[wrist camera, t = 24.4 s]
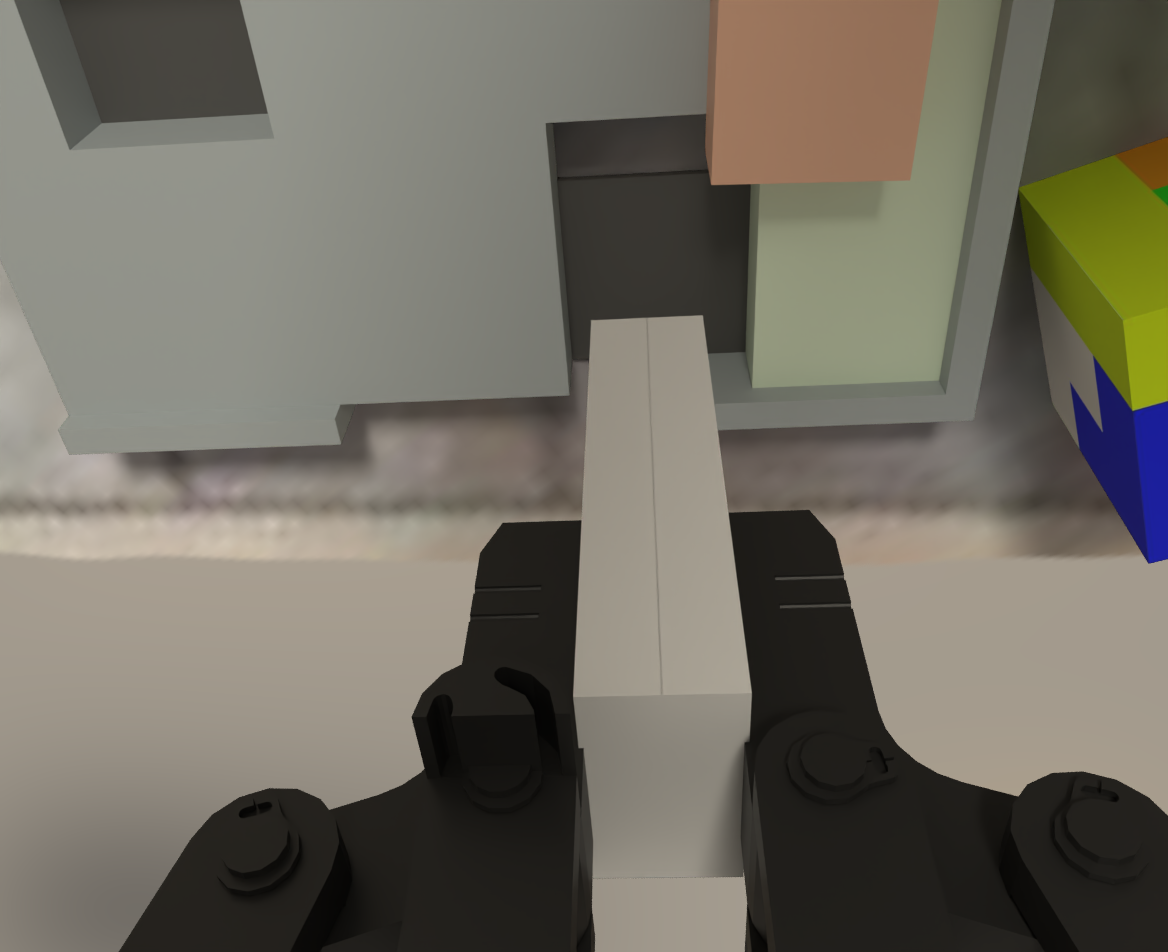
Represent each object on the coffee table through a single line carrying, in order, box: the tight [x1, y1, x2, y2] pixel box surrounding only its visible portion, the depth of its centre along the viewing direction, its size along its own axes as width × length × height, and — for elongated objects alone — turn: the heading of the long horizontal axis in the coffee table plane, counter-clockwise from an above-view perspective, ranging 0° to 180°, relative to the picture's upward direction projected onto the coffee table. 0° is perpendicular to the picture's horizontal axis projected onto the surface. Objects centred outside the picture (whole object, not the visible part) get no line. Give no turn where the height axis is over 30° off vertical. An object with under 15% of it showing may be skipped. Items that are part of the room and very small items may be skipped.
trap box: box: [0, 0, 1055, 455], centre depth 35 cm, size 20×35×4 cm, turn 94°
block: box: [705, 0, 939, 185], centre depth 31 cm, size 6×6×3 cm
